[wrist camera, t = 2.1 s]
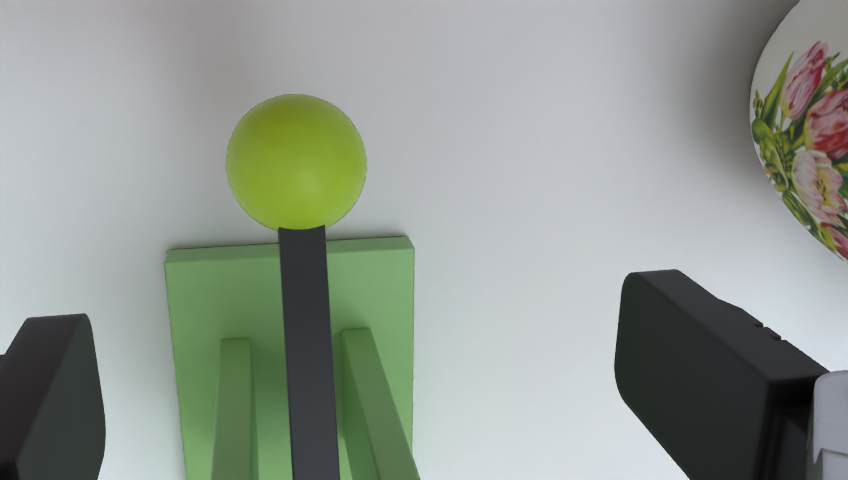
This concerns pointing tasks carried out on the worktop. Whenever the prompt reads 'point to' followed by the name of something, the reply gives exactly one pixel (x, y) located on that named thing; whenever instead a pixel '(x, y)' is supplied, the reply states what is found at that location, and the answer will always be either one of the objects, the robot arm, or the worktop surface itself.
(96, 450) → the robot arm
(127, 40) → the worktop surface
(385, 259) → the green crank stand
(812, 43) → the pitcher
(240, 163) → the switch lever
